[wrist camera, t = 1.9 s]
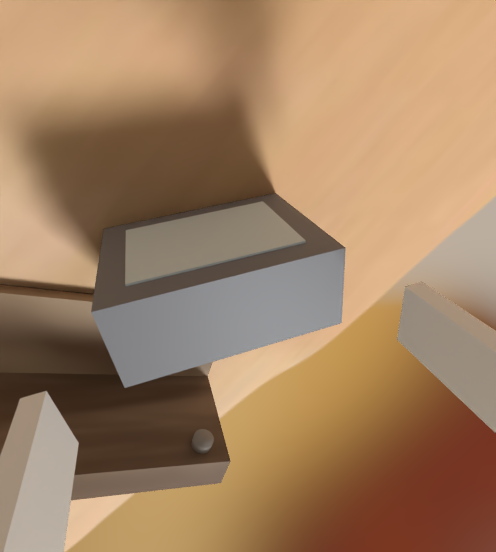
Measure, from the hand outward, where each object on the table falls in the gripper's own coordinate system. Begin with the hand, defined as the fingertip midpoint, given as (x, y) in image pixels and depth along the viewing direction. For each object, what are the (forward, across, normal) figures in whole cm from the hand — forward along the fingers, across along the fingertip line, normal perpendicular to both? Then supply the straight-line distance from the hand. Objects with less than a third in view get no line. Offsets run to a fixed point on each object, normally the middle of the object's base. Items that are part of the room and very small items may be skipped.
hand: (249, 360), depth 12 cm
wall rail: (+10, -8, -5) cm, 14 cm away
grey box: (+10, 0, +1) cm, 10 cm away
